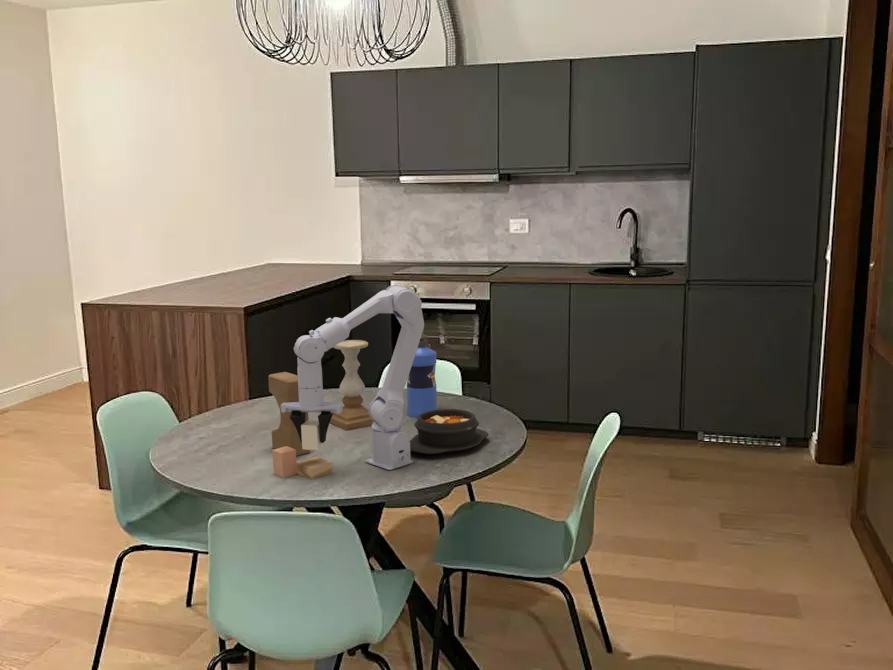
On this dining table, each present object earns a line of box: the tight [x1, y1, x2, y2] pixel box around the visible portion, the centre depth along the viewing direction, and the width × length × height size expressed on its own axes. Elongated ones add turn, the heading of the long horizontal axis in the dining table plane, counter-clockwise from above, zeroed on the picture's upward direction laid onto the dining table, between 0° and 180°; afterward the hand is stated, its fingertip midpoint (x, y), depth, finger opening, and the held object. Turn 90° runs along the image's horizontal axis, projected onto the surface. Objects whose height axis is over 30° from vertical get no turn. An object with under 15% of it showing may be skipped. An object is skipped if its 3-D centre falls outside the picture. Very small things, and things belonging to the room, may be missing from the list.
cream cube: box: [301, 420, 325, 451], centre depth 194 cm, size 4×4×6 cm
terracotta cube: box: [272, 446, 297, 478], centre depth 195 cm, size 4×4×6 cm
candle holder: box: [329, 339, 373, 431], centre depth 235 cm, size 11×11×24 cm
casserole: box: [410, 408, 489, 455], centre depth 213 cm, size 25×19×8 cm
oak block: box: [296, 456, 333, 480], centre depth 195 cm, size 6×6×3 cm
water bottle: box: [406, 331, 438, 419], centre depth 243 cm, size 9×9×25 cm
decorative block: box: [267, 371, 311, 457], centre depth 211 cm, size 11×6×20 cm, turn 38°
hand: (313, 441), depth 194 cm, fingers closed on cream cube, 4 cm apart
